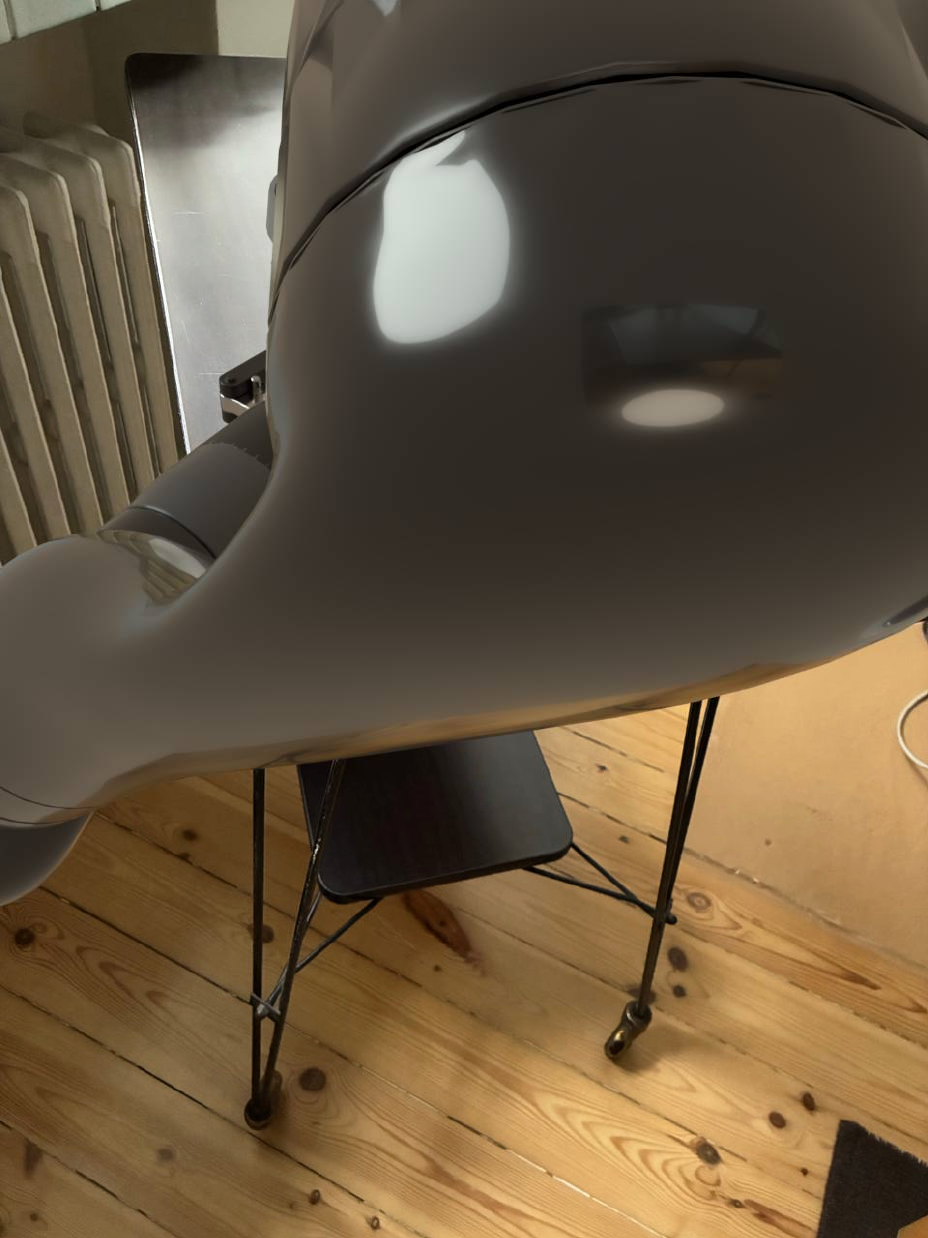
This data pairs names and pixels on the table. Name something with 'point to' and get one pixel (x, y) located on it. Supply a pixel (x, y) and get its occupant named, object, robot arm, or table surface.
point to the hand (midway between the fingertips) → (429, 359)
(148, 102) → the table surface
